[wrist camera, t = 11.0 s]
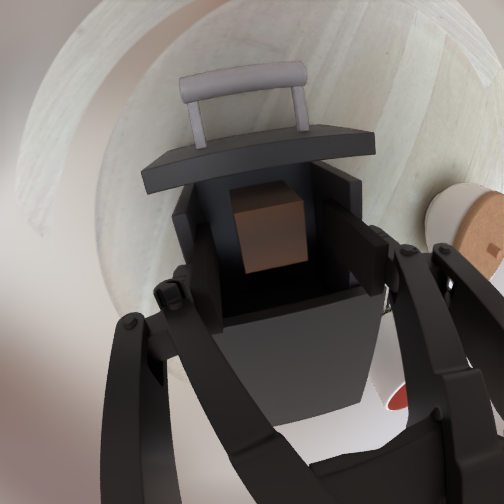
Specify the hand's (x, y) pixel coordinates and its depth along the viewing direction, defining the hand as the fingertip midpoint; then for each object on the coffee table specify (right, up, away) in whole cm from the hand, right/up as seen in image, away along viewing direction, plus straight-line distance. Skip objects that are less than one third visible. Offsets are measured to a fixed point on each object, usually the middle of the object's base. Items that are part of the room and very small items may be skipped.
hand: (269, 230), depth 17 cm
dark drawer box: (+1, -7, +11) cm, 13 cm away
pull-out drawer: (-1, +3, +4) cm, 5 cm away
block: (0, +2, +3) cm, 4 cm away
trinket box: (+21, +3, +9) cm, 22 cm away
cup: (+17, -12, +16) cm, 27 cm away
